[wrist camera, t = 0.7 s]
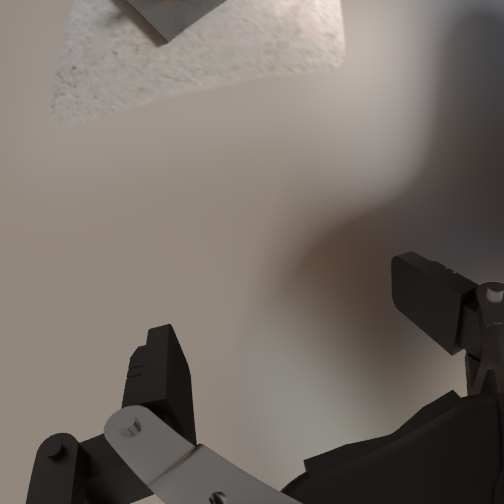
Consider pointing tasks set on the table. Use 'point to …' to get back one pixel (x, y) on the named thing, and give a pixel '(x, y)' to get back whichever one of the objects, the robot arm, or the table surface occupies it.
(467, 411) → the robot arm
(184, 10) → the grey peg base
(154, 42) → the table surface
